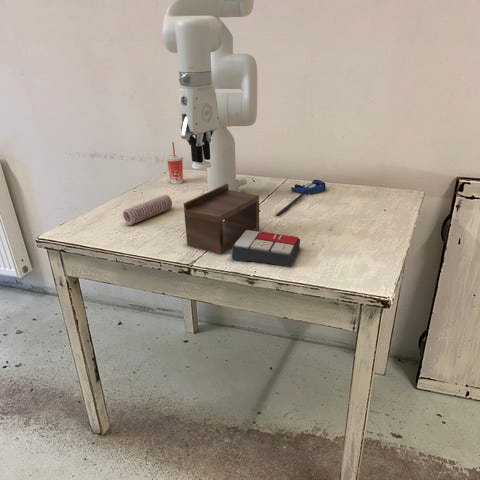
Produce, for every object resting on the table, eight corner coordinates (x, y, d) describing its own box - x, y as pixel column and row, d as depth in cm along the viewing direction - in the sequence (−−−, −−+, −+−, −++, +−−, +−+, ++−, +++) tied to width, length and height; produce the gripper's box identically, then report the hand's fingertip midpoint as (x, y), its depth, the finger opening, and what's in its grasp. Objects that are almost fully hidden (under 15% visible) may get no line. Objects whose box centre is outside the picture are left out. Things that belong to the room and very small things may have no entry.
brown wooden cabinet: (227, 222, 142) (226, 183, 136) (259, 229, 137) (259, 189, 131) (187, 245, 129) (183, 203, 123) (220, 254, 124) (218, 210, 118)
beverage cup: (184, 184, 176) (180, 144, 168) (167, 184, 176) (163, 144, 168) (185, 179, 181) (182, 140, 173) (169, 179, 181) (165, 140, 173)
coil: (130, 213, 138) (174, 196, 150) (119, 208, 141) (163, 192, 153) (131, 228, 141) (174, 210, 153) (121, 223, 143) (163, 206, 155)
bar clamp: (301, 177, 171) (328, 180, 166) (301, 183, 172) (328, 187, 168) (260, 208, 148) (290, 213, 144) (260, 216, 149) (290, 221, 145)
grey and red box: (291, 253, 115) (231, 243, 118) (290, 269, 117) (231, 259, 121) (301, 235, 123) (244, 227, 127) (299, 251, 126) (244, 242, 129)
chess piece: (214, 164, 124) (212, 123, 119) (206, 169, 121) (204, 127, 115) (196, 163, 126) (193, 122, 121) (188, 168, 122) (185, 126, 117)
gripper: (186, 85, 105) (192, 170, 115) (229, 76, 116) (231, 155, 126) (160, 83, 109) (169, 166, 119) (204, 75, 120) (208, 151, 130)
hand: (201, 159), depth 122 cm, fingers closed on chess piece
